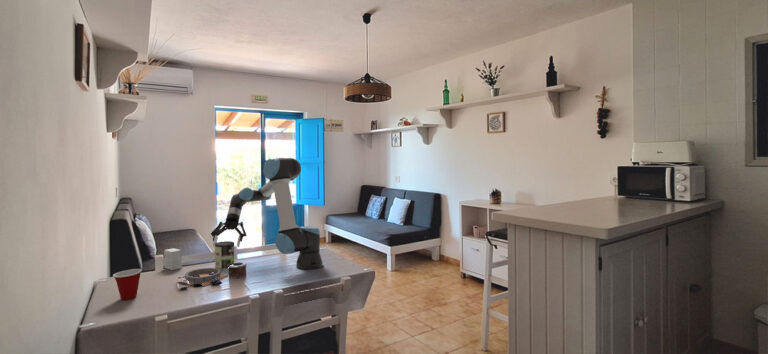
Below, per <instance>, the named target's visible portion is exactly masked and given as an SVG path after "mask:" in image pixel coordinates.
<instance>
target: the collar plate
mask: <svg viewBox="0 0 768 354" xmlns="http://www.w3.org/2000/svg"><path fill="white" fill-rule="evenodd" d="M211 272H214V273H216V274H213V275H209V273H211ZM194 274H199V275H200V277H193V275H194ZM216 277H219V279H220V280H223V279H225V278H228V277H229V274H228V273H222V270H219V269H217V268H215V267H203V268H198V269H197V268H196V269H192V270H190V271H187V272H186V273H185V274H184V278H185V279H186V280H188V281H189V283H190V284H189V285H193V284H194V282H202V284H201V285H202V286H201V287H206V286H209V285H211V284H210V282H211V280H212V279H214V278H216ZM178 280H179V279H177V280H176V282H177V281H178ZM193 286H194V285H193Z"/></svg>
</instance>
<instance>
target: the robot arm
mask: <svg viewBox="0 0 768 354" xmlns="http://www.w3.org/2000/svg"><path fill="white" fill-rule="evenodd" d="M262 172H263V176H264V177H265V179H267V180H269V181H268V182H267V183H265V184H264V185H262V187H260V188H259V189H258V188H257V189H252V188H250V187H244V188H242V189H241V190H239V192H238V193H236V194H232V195H231V196H232V197H231V199H230V204H229V207H228V211H227V215H226V218H225V222H223V221H219V223H218V225H217V226H216V227H214V229H213V230H212V231H211V233H210V235H211V237H212V242H213V243H212V247H213V248H215V243H218V238H219V237H220V235H221V234H223V233H224V232H226V231H227V230H228V231H230V230H231V231H232V230H234V231H236V232H237V234H238V238H237V242H236V246H237V247H238V248H239V247H240V245H241V243H242V242H243V238H244V237H247V236H248V235H247V232H246V230H245V228H244V222H243V221H240V216H241V213H242V209H243V207H244V205H246V204H247V203H250V202H251V203H252V202H262V201H263V202H264V201H268V200H270V199H271V198H272V195H273V194H274V197H275V203H276V210H277V217H278V221H279V229H278V230H277V233H278V234H277V235H276V236H275V240H274V244H275V247H276V248H277V250H278V251H279V253H281V254H282V255H288V254H293V253H297V252H299V253H298V257H297V259H296V263H295V265H296V268H297V269H301V270H316V269H319V268H321V266H322V267H323V259H322V256H321V253H320V245H321V243H320V241H321V239H320V238H321V237H320V236H321V234H320V228H318V227H316V226H303V225H302V226H299V225H297V223H296V218H295V213H294V206H293V200H292V194H291V189H290V182H291V181H294V180H295V179H297V178H298V177H299V176H300V174H302V173H301V172H302V165H301V163H300V161H298V159H295V158H292V157H270V158H268V159H267V160H266V161H265V163H264V165H263V171H262ZM238 227H240V228H241V229H239V228H238Z"/></svg>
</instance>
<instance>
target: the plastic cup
mask: <svg viewBox="0 0 768 354" xmlns="http://www.w3.org/2000/svg"><path fill="white" fill-rule="evenodd" d="M142 272H143V271H142V269H141V268H132V269H127V270H126V269H125V270H122V271H118V272H115V273H114V274H112V276H113V278H114V280H115V282H116V287H117V290H118V293H119V297H120V300H121V301H129V300H133V299H136V298H137V296H138V290H139V284H140V279H141V273H142Z"/></svg>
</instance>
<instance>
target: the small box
mask: <svg viewBox="0 0 768 354" xmlns="http://www.w3.org/2000/svg"><path fill="white" fill-rule="evenodd" d="M163 254H164V269H167V270H169V269H170V270H171V271H174V270H176V271H177V270H178V269H179V270H180V269H182V268H183V266H182V265H183V263H182V261H183V260H182V249H178V248H168V249H164V253H163Z"/></svg>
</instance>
